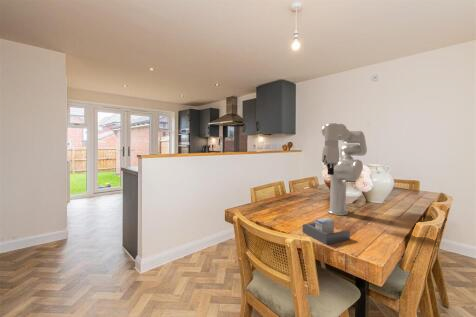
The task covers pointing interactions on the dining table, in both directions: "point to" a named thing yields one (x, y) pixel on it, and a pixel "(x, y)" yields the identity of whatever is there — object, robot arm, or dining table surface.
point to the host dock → (325, 234)
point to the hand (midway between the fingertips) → (330, 174)
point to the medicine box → (325, 225)
